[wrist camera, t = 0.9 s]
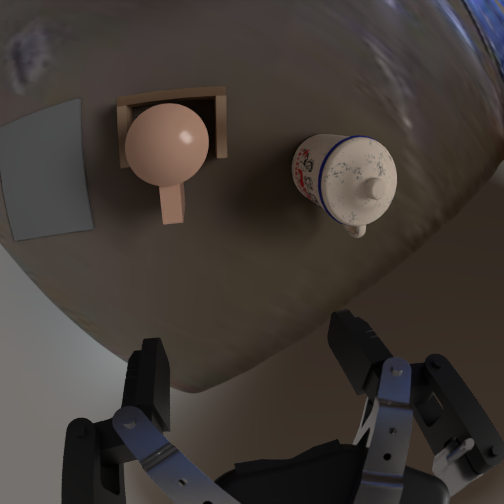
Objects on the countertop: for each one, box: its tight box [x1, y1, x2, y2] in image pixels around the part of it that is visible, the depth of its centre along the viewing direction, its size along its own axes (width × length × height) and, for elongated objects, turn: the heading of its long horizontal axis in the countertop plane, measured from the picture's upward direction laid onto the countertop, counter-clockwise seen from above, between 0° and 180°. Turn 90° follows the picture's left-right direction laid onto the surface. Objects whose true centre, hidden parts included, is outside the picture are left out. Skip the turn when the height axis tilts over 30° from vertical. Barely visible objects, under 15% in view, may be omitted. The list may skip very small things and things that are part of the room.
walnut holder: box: [117, 86, 227, 168], centre depth 25 cm, size 8×11×3 cm
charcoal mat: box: [0, 98, 94, 241], centre depth 24 cm, size 16×14×1 cm
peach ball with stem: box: [125, 103, 209, 224], centre depth 24 cm, size 10×7×8 cm, turn 0°
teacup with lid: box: [292, 134, 397, 238], centre depth 27 cm, size 12×9×12 cm
